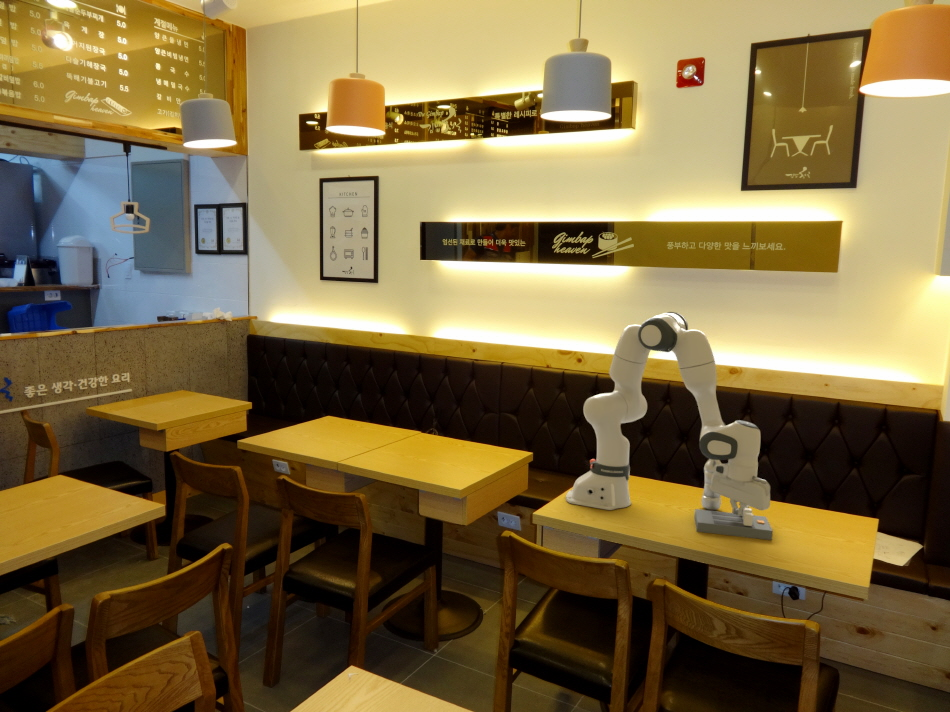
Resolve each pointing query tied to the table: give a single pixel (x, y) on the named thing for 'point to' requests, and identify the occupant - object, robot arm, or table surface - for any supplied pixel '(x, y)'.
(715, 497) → the plastic bottle
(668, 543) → the table surface
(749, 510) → the block
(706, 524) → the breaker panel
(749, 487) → the robot arm
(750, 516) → the block
